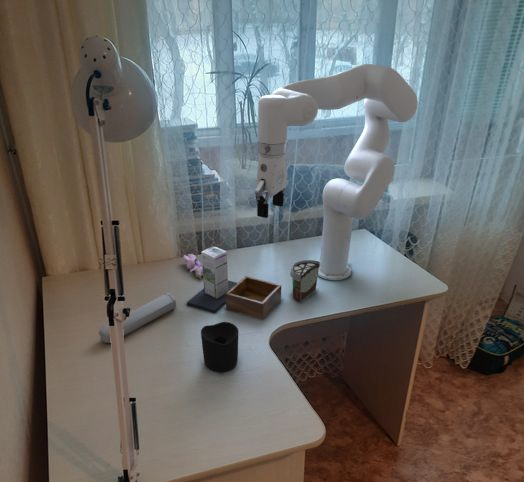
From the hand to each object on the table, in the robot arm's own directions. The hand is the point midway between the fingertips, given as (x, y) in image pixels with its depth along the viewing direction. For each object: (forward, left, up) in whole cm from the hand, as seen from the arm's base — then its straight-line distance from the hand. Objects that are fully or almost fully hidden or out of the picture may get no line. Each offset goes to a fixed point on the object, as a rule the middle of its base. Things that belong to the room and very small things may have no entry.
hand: (270, 211), depth 141 cm
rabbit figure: (-4, -30, -28) cm, 42 cm away
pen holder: (+36, +4, -28) cm, 46 cm away
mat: (+7, -15, -28) cm, 33 cm away
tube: (+32, -26, -28) cm, 50 cm away
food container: (-7, +8, -28) cm, 30 cm away
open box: (+6, -2, -28) cm, 29 cm away
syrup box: (+7, -15, -28) cm, 32 cm away
